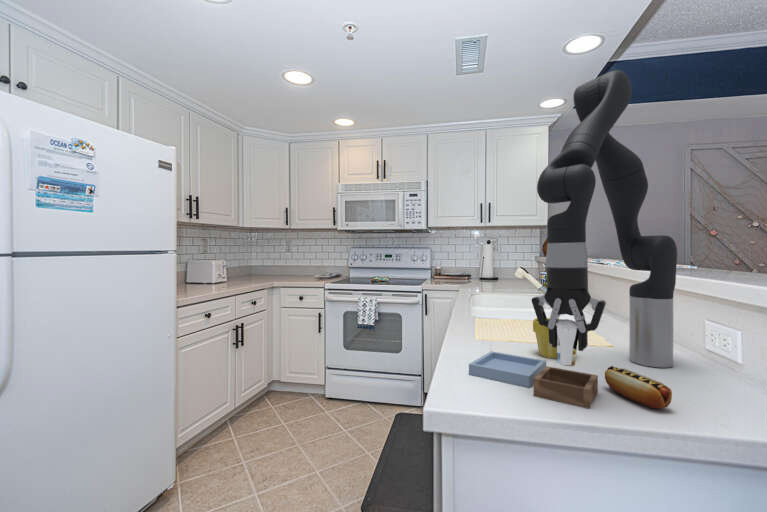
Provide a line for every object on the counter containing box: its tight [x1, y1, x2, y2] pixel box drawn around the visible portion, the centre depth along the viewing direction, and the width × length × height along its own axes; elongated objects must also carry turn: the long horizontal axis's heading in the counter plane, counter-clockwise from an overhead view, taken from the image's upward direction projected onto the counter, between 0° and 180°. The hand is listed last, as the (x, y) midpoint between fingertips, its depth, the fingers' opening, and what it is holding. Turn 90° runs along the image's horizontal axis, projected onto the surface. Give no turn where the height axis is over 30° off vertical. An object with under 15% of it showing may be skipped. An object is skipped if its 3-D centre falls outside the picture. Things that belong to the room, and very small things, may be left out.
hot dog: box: [604, 365, 673, 409], centre depth 71 cm, size 5×13×5 cm, turn 10°
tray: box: [468, 351, 547, 388], centre depth 88 cm, size 14×14×2 cm
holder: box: [533, 365, 599, 410], centre depth 74 cm, size 10×10×4 cm
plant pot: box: [532, 317, 561, 359], centre depth 102 cm, size 10×10×10 cm
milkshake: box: [555, 315, 586, 367], centre depth 74 cm, size 5×5×10 cm
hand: (567, 347), depth 74 cm, fingers closed on milkshake, 4 cm apart
